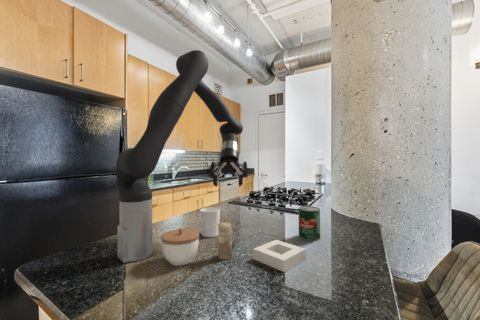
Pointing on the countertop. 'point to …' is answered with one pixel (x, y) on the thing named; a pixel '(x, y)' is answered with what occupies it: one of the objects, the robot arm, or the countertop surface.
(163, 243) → the lidded jar
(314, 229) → the canned tomato
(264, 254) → the beige socket block
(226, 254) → the birch peg
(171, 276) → the countertop surface
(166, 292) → the countertop surface
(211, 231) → the white cup
